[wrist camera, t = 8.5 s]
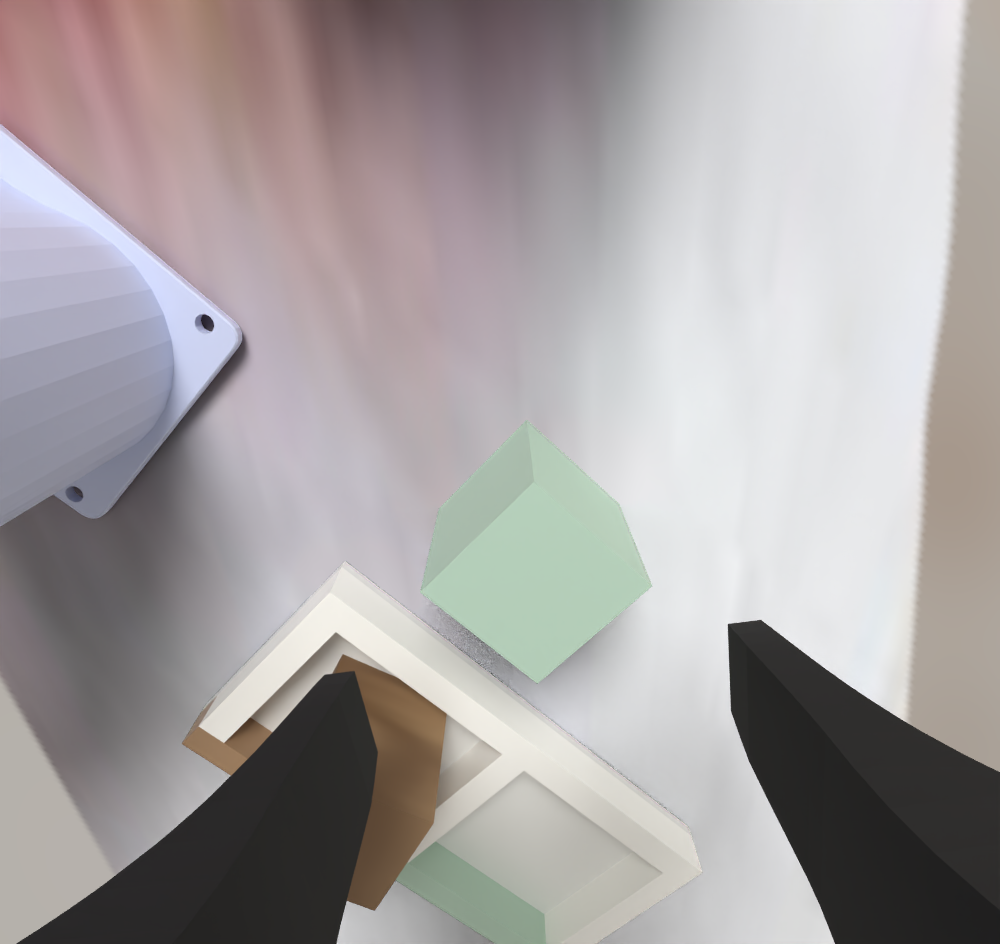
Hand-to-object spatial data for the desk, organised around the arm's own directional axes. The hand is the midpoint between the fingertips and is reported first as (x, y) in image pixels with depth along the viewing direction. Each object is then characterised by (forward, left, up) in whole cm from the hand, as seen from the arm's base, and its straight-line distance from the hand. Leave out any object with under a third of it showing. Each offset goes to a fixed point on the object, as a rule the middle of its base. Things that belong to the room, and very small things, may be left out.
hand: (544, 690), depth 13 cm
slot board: (+5, -10, -9) cm, 14 cm away
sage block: (0, 0, -9) cm, 9 cm away
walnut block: (+1, -10, -8) cm, 13 cm away
